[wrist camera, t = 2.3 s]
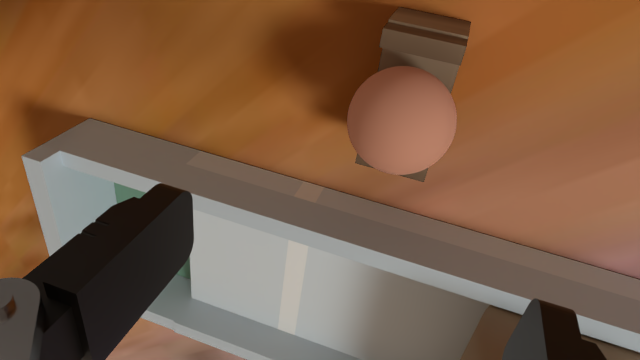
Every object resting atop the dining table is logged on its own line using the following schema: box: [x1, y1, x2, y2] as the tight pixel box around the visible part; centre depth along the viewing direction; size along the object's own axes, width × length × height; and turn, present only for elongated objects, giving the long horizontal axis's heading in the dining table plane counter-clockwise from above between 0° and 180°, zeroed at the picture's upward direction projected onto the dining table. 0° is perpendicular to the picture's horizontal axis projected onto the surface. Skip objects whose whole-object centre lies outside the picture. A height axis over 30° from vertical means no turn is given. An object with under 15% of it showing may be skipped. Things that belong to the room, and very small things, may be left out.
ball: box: [347, 66, 457, 175], centre depth 17 cm, size 4×4×4 cm
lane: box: [22, 118, 640, 360], centre depth 24 cm, size 12×32×10 cm, turn 82°
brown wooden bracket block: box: [355, 7, 471, 182], centre depth 19 cm, size 6×3×3 cm, turn 172°
